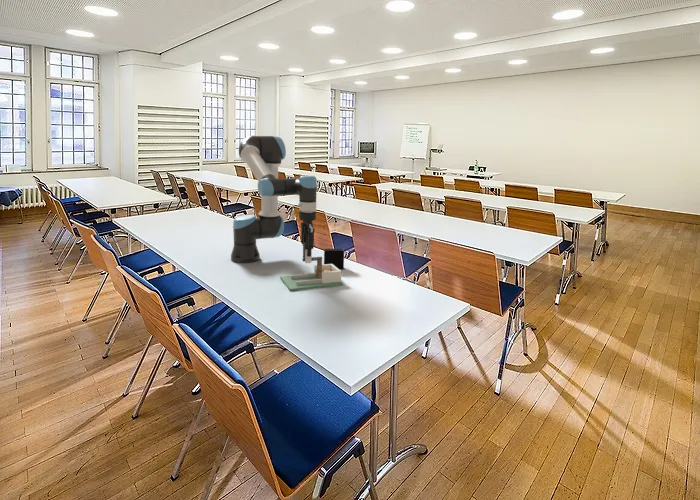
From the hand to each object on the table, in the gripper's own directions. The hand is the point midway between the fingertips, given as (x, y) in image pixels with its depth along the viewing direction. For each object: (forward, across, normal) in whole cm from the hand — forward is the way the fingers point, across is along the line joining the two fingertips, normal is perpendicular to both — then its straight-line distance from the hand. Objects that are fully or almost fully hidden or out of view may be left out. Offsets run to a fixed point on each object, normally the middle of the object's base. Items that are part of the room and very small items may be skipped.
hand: (307, 261), depth 201 cm
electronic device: (+10, -17, +20) cm, 28 cm away
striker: (+9, 0, +2) cm, 9 cm away
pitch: (+10, 0, +2) cm, 10 cm away
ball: (+7, 0, +10) cm, 12 cm away
